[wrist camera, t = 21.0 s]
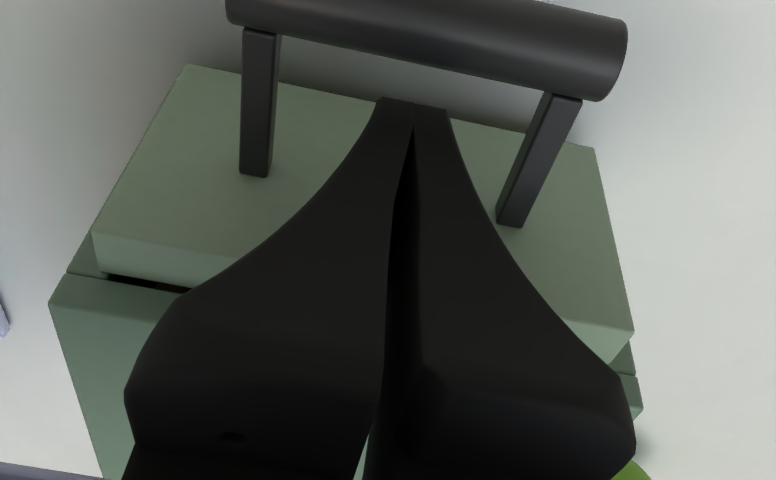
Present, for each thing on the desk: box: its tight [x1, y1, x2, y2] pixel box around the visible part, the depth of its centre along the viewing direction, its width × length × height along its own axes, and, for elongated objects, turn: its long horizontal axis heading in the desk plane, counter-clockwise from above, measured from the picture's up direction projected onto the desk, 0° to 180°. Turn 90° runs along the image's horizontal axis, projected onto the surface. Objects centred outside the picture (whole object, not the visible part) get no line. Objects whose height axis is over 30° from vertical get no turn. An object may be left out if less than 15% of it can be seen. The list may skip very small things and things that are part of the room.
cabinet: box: [48, 81, 643, 480], centre depth 20 cm, size 14×12×8 cm
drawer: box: [91, 0, 634, 364], centre depth 17 cm, size 17×10×6 cm, turn 169°
